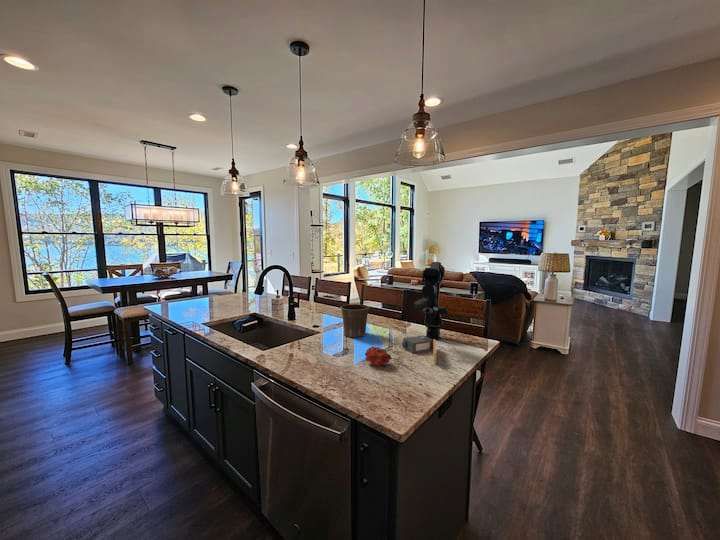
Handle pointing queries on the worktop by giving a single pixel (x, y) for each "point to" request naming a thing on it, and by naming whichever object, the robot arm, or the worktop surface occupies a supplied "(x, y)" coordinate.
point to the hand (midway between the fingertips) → (429, 324)
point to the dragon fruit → (377, 356)
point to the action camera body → (417, 344)
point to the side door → (434, 351)
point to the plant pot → (354, 319)
